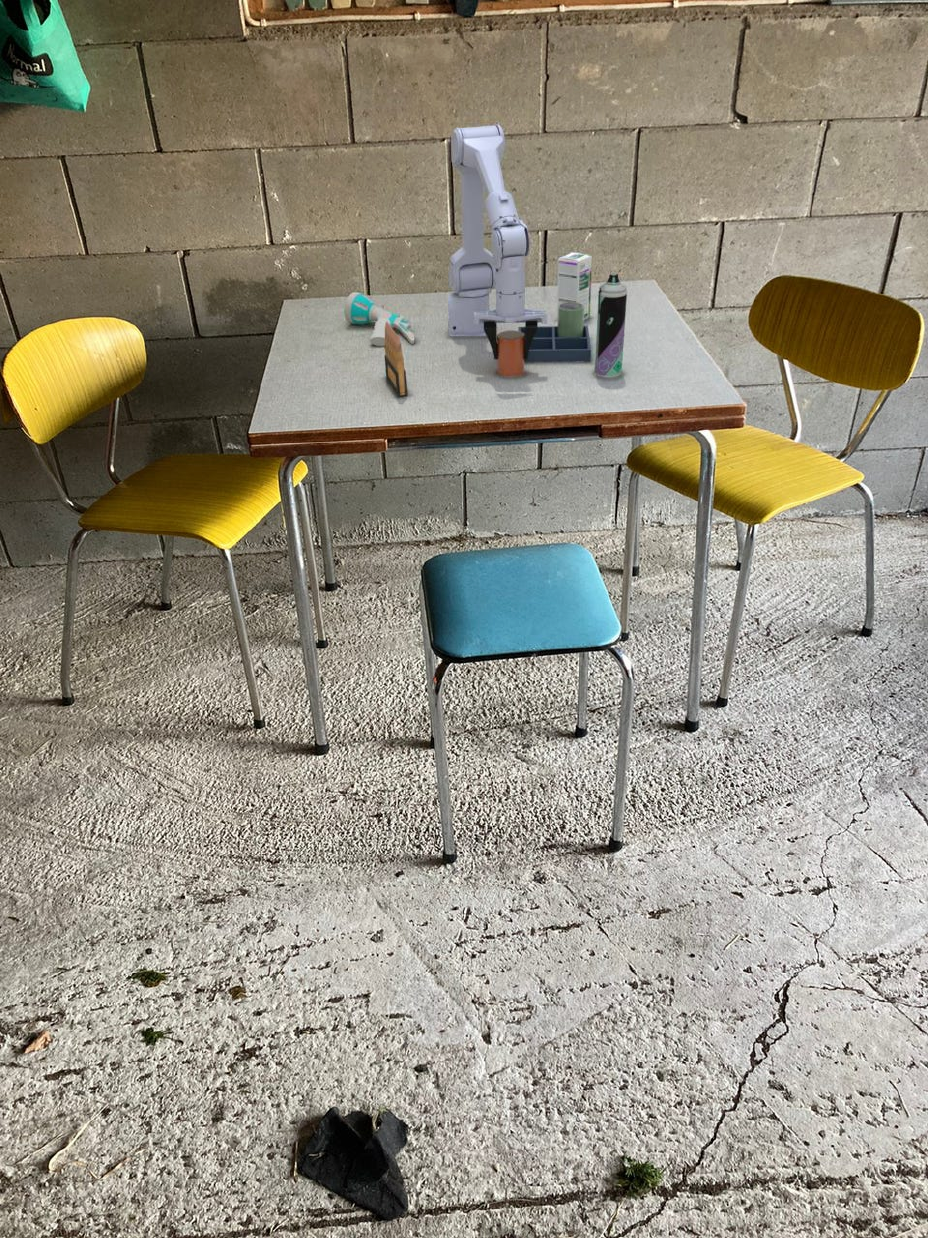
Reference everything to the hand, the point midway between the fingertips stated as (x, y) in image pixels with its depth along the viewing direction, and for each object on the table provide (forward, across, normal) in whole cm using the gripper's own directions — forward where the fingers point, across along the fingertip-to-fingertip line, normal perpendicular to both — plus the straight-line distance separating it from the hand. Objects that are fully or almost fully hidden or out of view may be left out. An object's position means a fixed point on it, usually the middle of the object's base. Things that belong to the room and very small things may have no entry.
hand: (510, 357), depth 193 cm
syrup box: (+3, +14, +34) cm, 37 cm away
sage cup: (+3, +13, +17) cm, 21 cm away
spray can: (+3, +20, -1) cm, 20 cm away
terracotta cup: (+3, 0, 0) cm, 3 cm away
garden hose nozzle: (+3, -31, +27) cm, 41 cm away
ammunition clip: (+4, -23, -7) cm, 24 cm away
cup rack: (+3, +9, +13) cm, 16 cm away
